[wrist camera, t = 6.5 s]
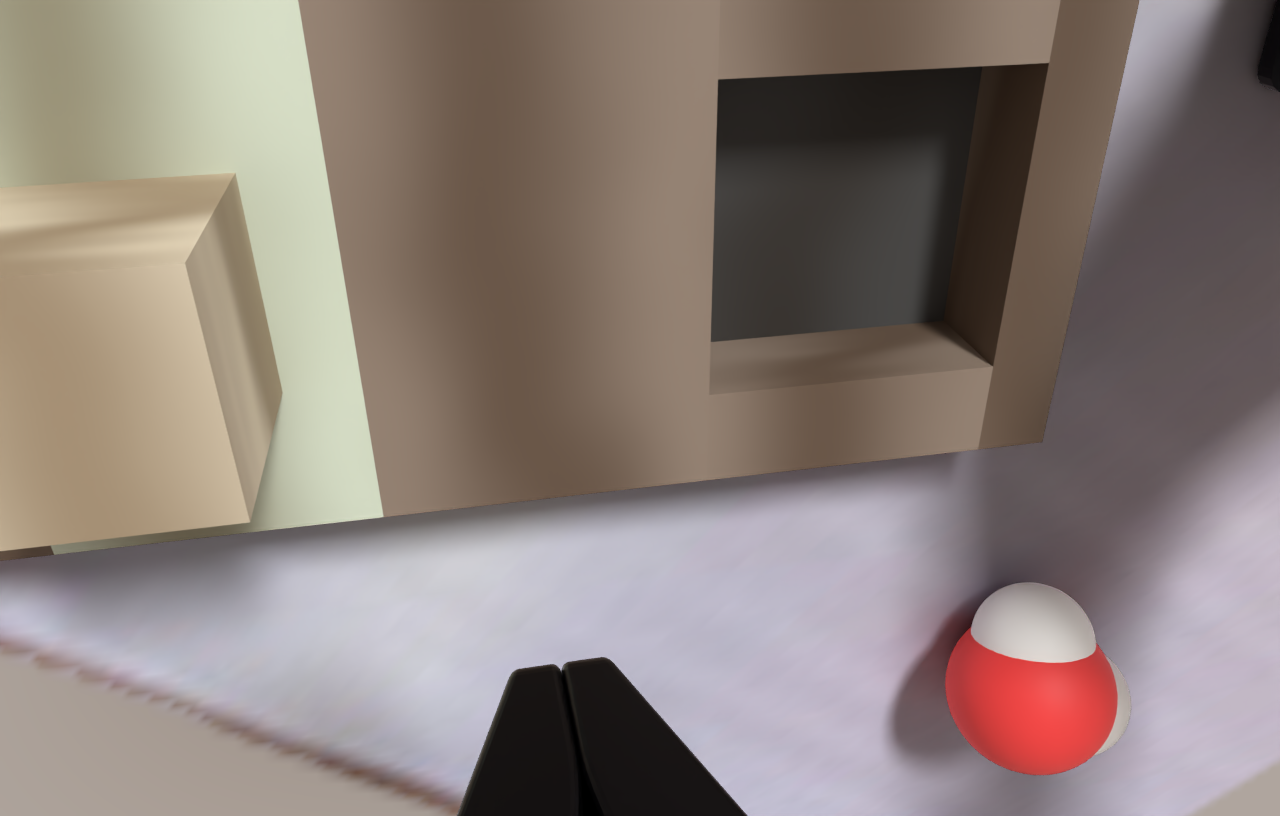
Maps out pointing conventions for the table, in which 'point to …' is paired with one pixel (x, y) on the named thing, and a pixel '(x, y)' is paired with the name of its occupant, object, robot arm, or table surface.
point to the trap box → (604, 224)
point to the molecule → (1035, 683)
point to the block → (130, 360)
